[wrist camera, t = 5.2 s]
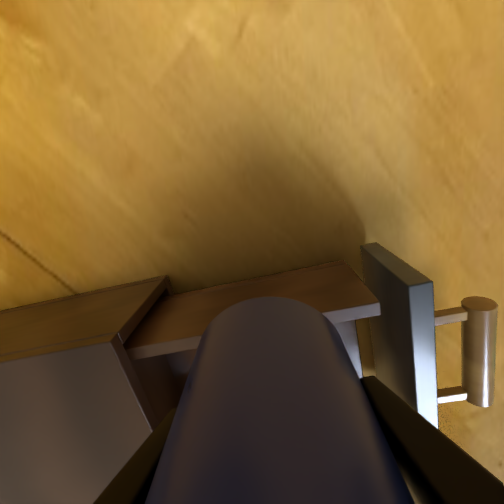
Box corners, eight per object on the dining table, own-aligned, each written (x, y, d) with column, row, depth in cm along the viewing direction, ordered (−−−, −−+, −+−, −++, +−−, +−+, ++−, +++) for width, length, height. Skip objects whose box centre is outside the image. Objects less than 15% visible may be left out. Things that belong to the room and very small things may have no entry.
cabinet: (167, 274, 22) (109, 341, 14) (216, 410, 26) (195, 523, 18) (-40, 319, 24) (-198, 400, 16) (37, 437, 28) (-55, 549, 20)
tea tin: (335, 278, 9) (803, 1022, 1) (355, 405, 10) (600, 1042, 3) (174, 310, 9) (-193, 949, 2) (218, 426, 11) (127, 999, 4)
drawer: (440, 228, 19) (533, 262, 12) (444, 378, 23) (516, 463, 16) (138, 291, 21) (84, 347, 15) (189, 417, 25) (164, 504, 19)
